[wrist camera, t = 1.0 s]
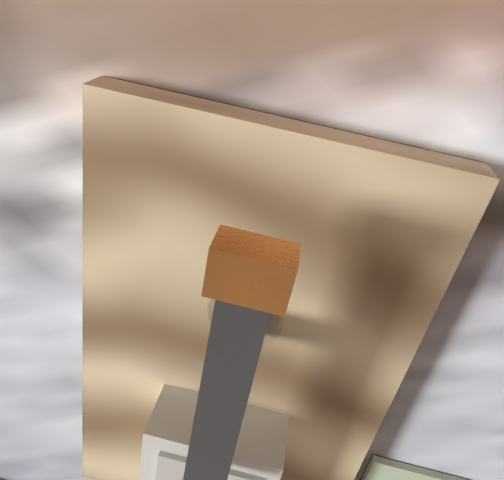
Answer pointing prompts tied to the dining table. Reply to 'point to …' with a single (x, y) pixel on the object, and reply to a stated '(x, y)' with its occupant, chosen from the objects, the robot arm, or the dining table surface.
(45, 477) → the dining table surface
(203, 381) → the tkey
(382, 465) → the mat
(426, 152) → the board
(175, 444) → the cover
